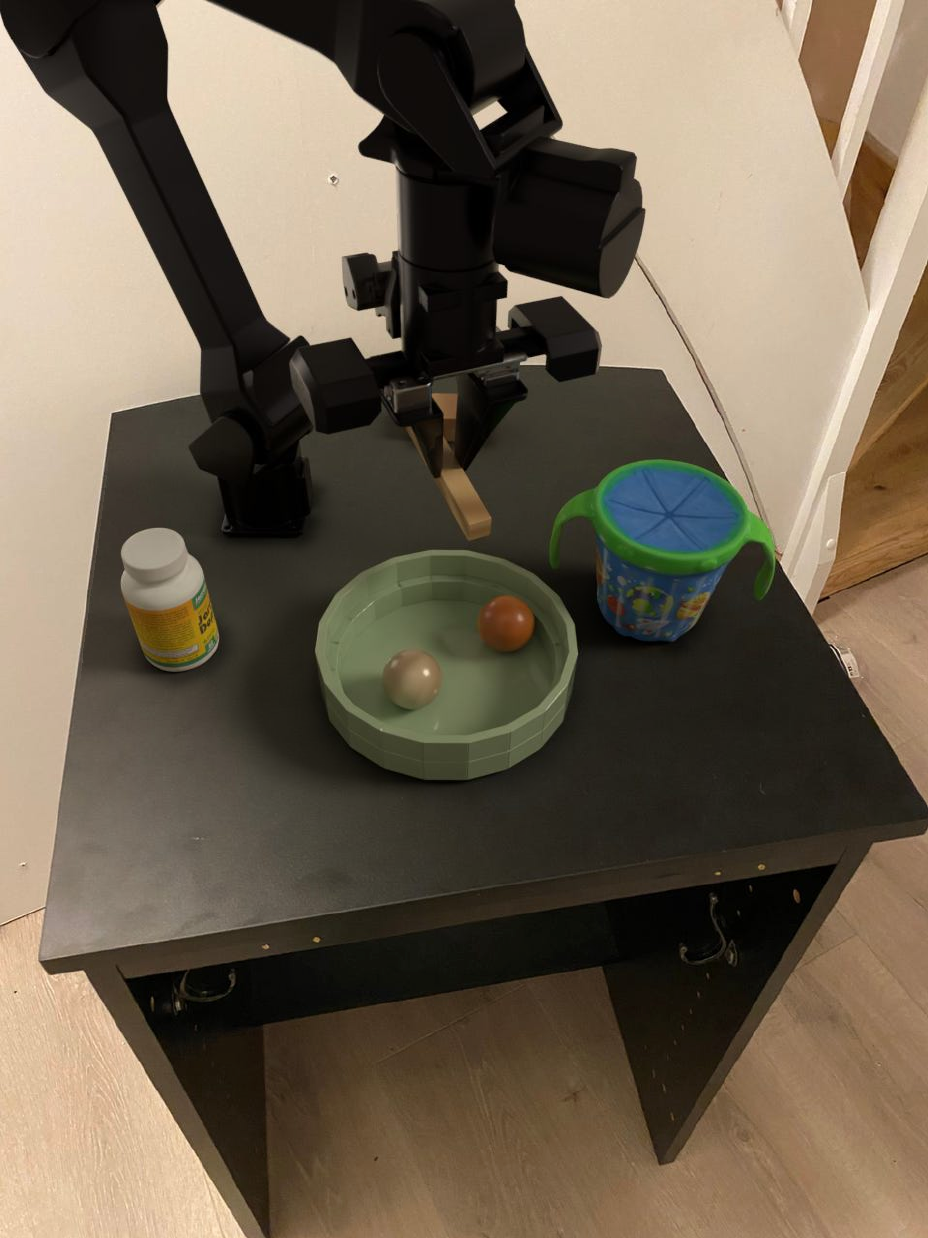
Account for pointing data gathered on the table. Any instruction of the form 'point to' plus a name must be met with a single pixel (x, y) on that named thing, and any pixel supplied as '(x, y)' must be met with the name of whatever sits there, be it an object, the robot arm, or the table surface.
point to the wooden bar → (460, 494)
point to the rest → (447, 413)
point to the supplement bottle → (168, 600)
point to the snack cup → (663, 544)
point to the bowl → (445, 665)
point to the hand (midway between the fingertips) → (447, 471)
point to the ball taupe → (412, 679)
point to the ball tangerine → (506, 623)
